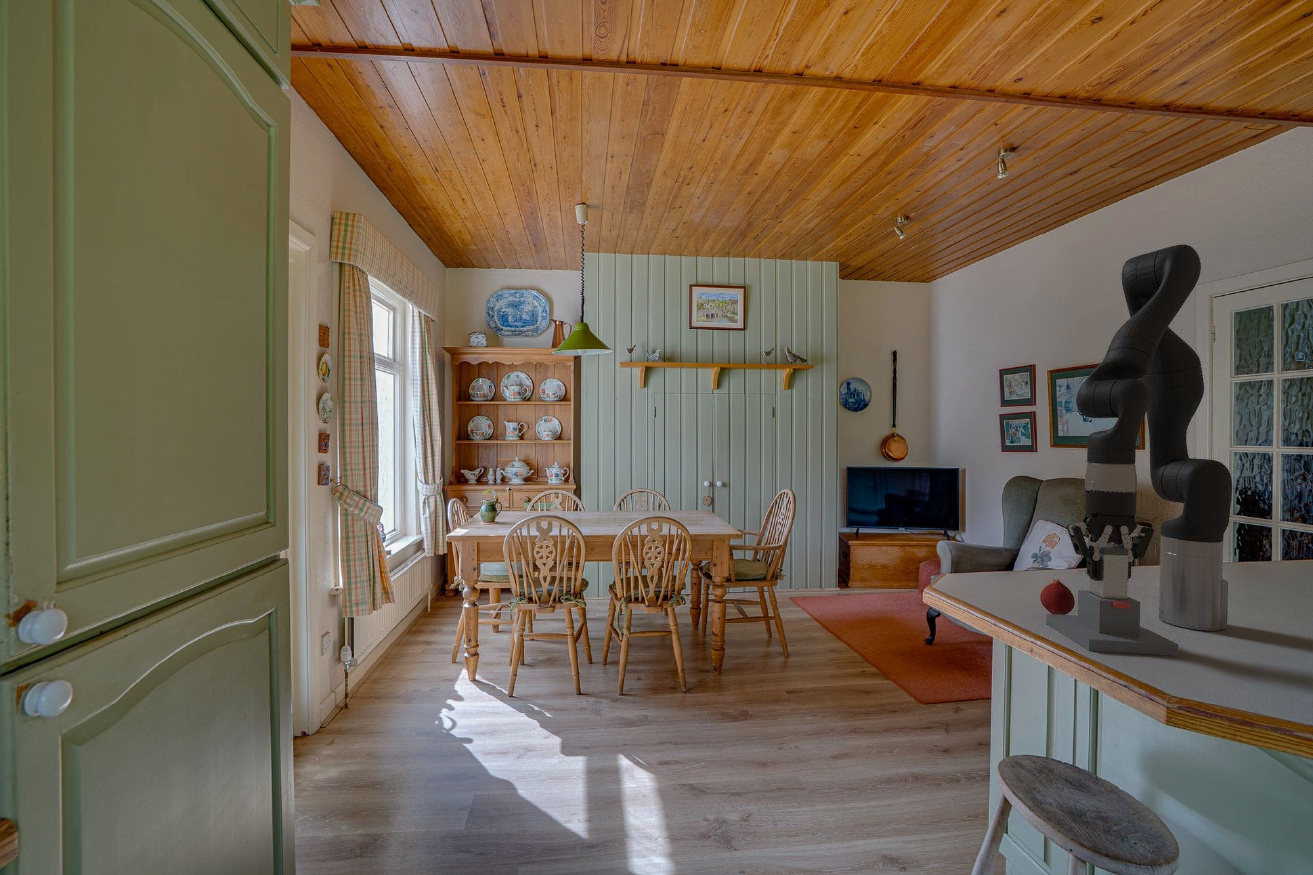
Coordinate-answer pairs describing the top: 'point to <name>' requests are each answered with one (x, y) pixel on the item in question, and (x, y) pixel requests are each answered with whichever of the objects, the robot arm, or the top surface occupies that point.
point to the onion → (1057, 598)
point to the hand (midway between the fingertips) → (1108, 579)
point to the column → (1112, 574)
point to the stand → (1110, 627)
